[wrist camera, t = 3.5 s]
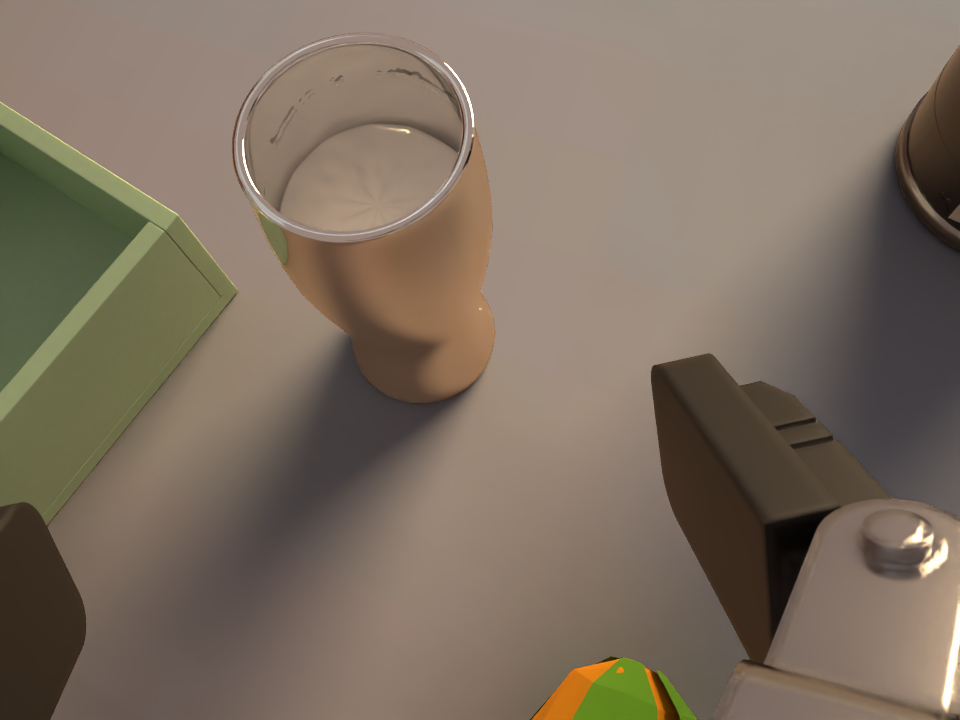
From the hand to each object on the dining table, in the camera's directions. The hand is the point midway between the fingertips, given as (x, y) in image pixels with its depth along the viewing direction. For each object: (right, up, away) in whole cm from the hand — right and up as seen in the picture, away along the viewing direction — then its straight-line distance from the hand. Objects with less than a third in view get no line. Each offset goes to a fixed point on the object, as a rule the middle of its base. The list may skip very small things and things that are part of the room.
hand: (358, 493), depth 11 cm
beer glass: (-1, +3, +26) cm, 26 cm away
